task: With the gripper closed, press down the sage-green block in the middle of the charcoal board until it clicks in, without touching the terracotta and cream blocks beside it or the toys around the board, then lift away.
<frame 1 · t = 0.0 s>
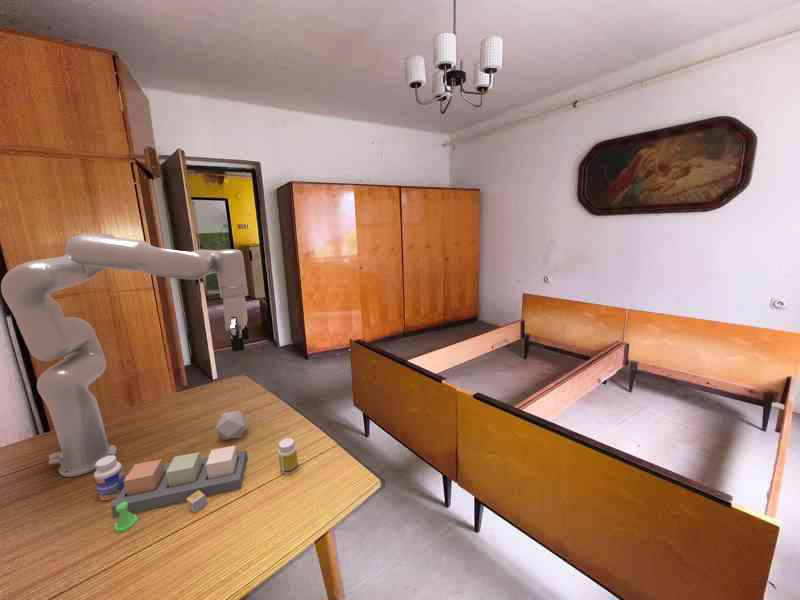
hand: (241, 344, 102), 31 cm above the table, fingers open, 9 cm apart
die: (233, 436, 108), on the table
terracotta block: (145, 477, 84), point 5 cm above the table, slide at 0.0 cm
alphabet block: (198, 507, 81), on the table
pill bottle: (113, 493, 86), on the table
supplement bottle: (289, 468, 93), on the table
game piece: (126, 525, 77), on the table
cream block: (222, 462, 89), point 5 cm above the table, slide at 0.0 cm
green block: (184, 470, 87), point 5 cm above the table, slide at 0.0 cm
board: (187, 484, 88), on the table
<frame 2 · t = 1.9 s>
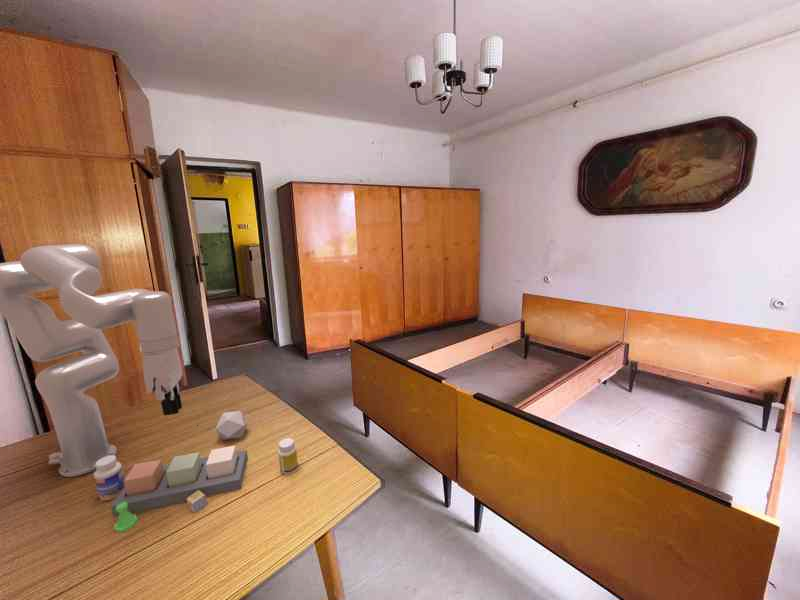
hand: (173, 411, 83), 22 cm above the table, fingers closed
nothing on the table moved.
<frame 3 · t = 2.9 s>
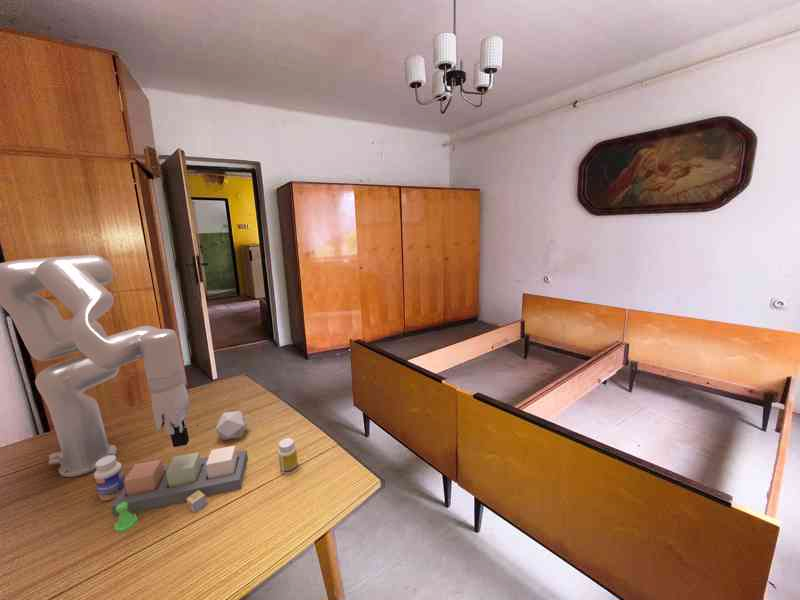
hand: (181, 444, 85), 13 cm above the table, fingers closed
nothing on the table moved.
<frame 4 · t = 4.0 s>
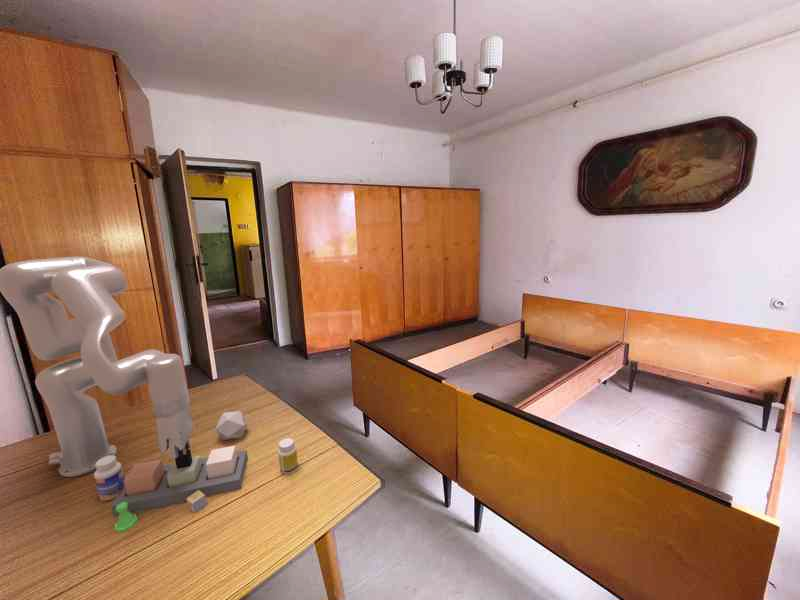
hand: (184, 465, 86), 6 cm above the table, fingers closed
green block: (185, 473, 87), point 4 cm above the table, slide at 1.1 cm, touching gripper
everything else where it was.
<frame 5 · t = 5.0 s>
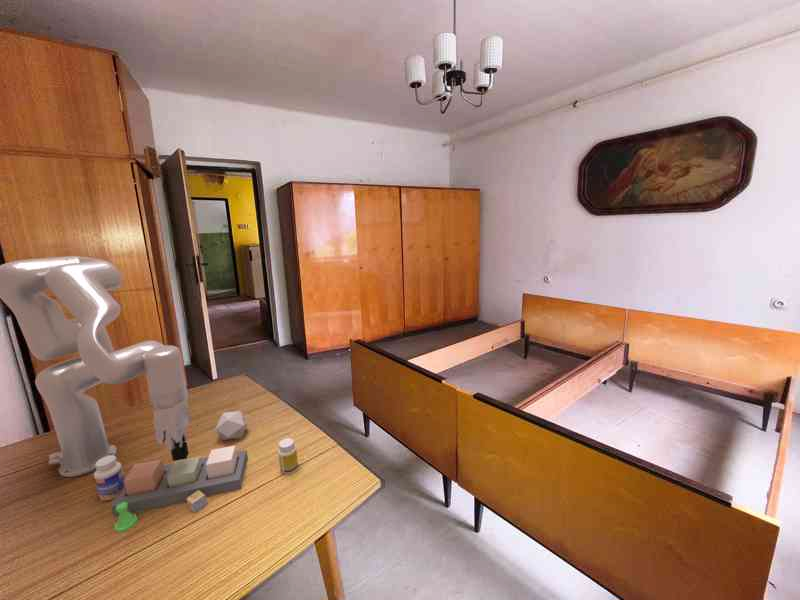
hand: (180, 457, 86), 8 cm above the table, fingers closed
green block: (185, 474, 87), point 3 cm above the table, slide at 1.4 cm
everything else where it was.
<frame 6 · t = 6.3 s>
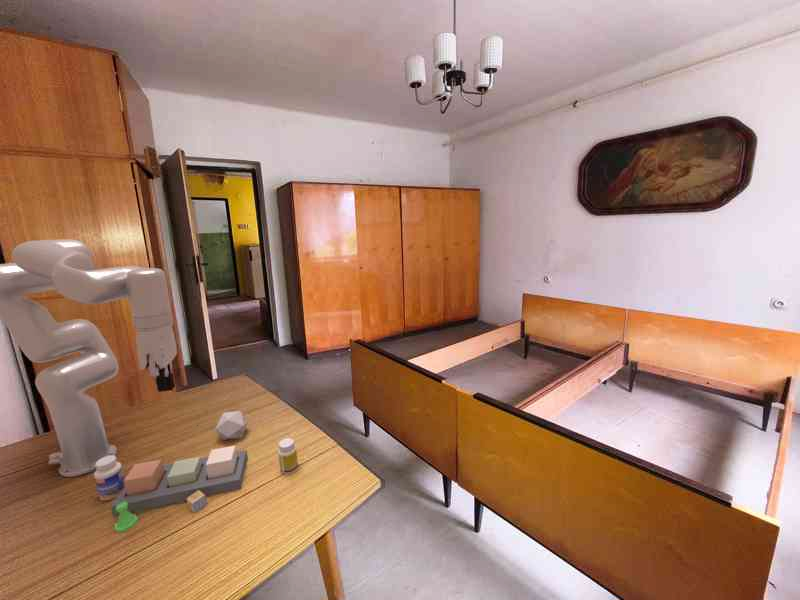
hand: (166, 389, 83), 27 cm above the table, fingers closed
nothing on the table moved.
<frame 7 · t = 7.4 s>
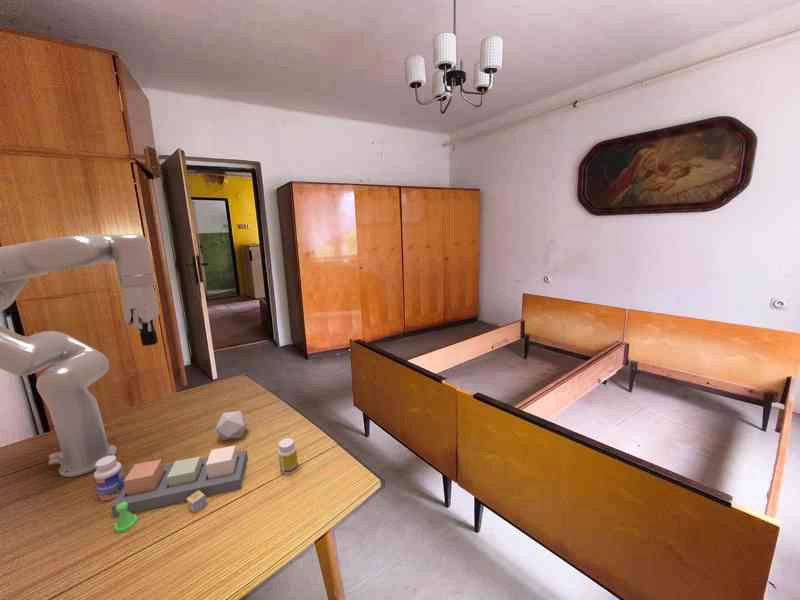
hand: (150, 344, 93), 35 cm above the table, fingers closed
nothing on the table moved.
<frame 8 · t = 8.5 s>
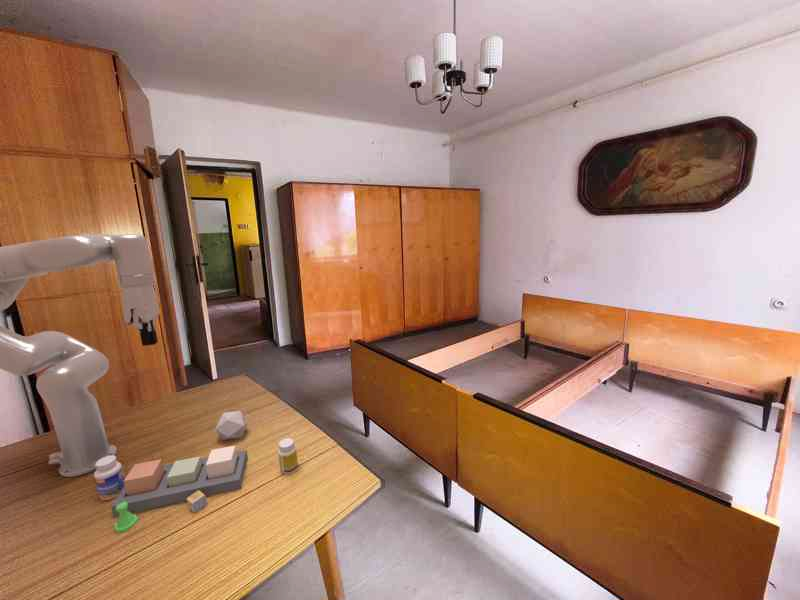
hand: (150, 344, 93), 35 cm above the table, fingers closed
nothing on the table moved.
at the end: green block slide at 1.4 cm; terracotta block slide at 0.0 cm; cream block slide at 0.0 cm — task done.
